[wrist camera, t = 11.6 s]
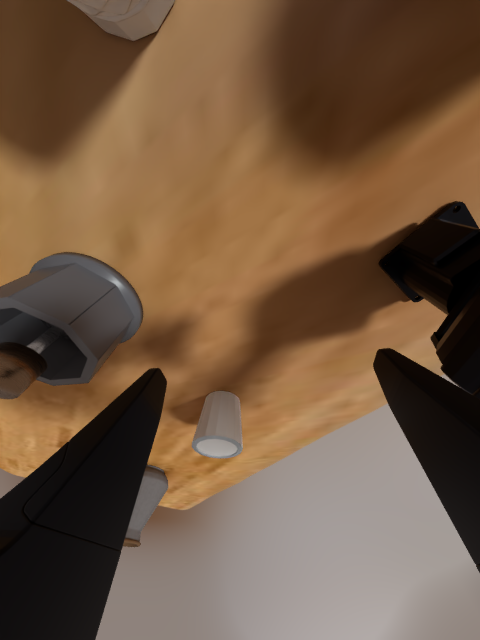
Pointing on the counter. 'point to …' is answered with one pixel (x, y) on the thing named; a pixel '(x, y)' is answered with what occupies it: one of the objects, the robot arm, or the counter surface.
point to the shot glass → (219, 426)
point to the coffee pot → (146, 503)
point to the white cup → (126, 15)
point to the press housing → (71, 314)
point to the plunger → (25, 362)
